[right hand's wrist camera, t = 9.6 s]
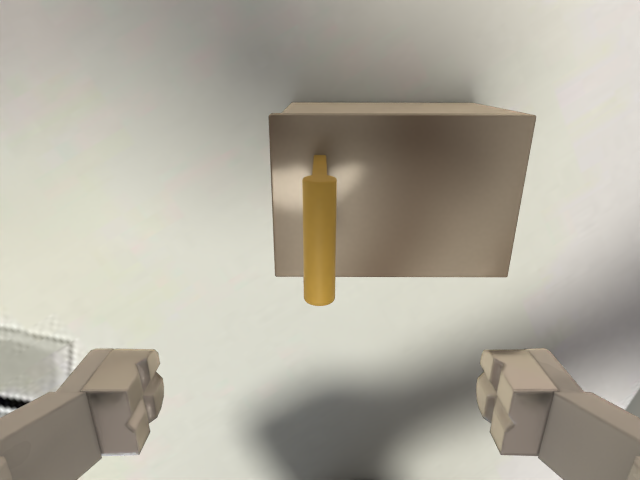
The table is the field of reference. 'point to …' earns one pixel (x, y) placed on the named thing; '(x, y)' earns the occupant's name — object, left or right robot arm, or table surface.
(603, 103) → the table surface
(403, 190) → the lid
